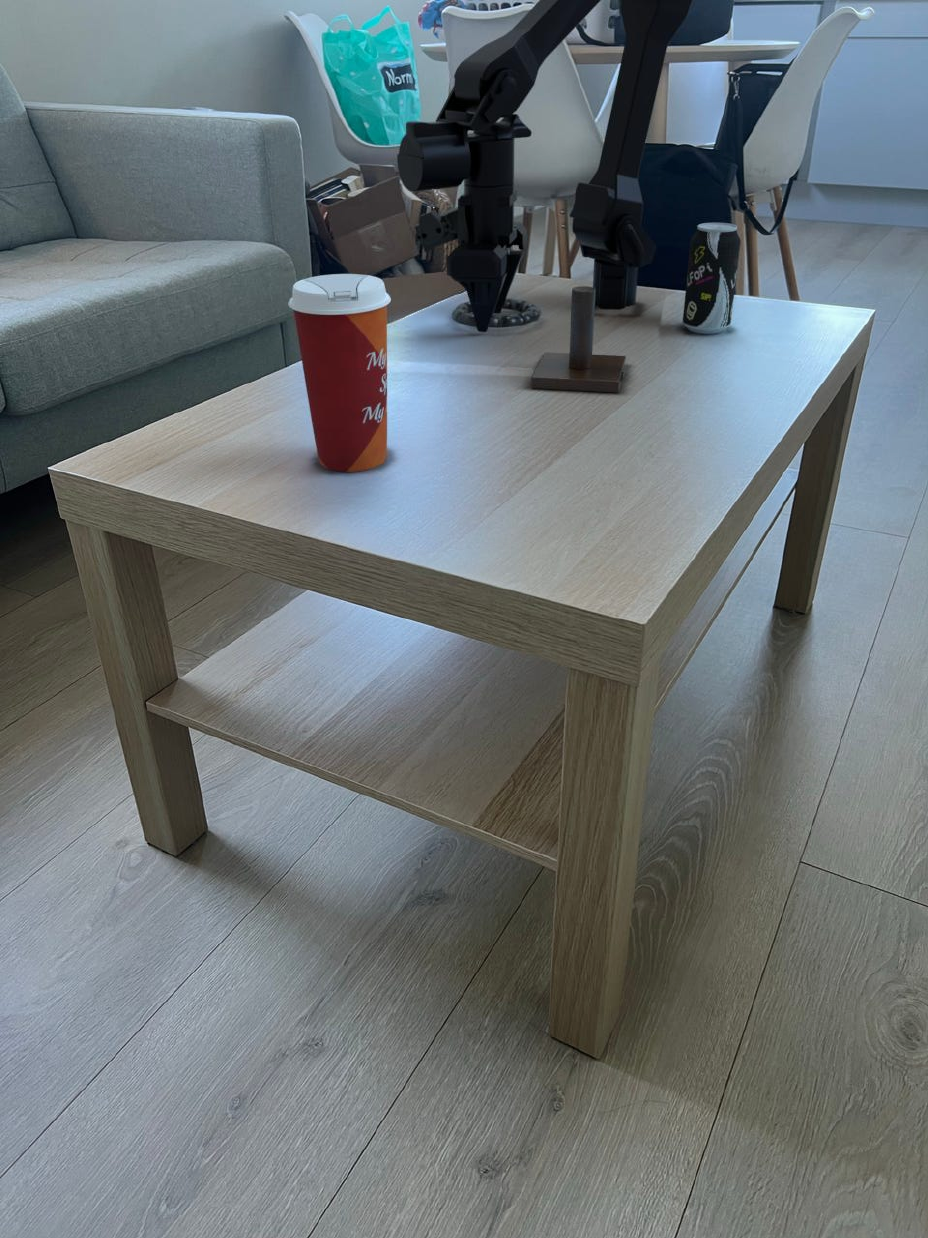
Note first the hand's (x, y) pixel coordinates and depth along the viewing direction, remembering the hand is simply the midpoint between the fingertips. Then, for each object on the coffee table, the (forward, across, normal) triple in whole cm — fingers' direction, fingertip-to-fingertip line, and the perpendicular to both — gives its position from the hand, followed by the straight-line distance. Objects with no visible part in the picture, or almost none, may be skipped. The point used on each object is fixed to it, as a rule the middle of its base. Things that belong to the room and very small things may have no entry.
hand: (489, 321), depth 118 cm
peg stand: (+1, +16, +13) cm, 20 cm away
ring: (0, -4, 0) cm, 5 cm away
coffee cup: (+2, +42, -4) cm, 42 cm away
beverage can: (+2, -6, +26) cm, 27 cm away
